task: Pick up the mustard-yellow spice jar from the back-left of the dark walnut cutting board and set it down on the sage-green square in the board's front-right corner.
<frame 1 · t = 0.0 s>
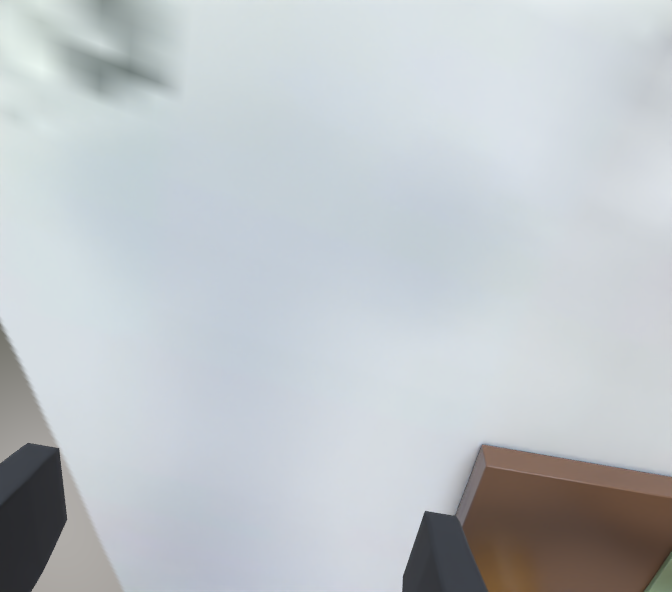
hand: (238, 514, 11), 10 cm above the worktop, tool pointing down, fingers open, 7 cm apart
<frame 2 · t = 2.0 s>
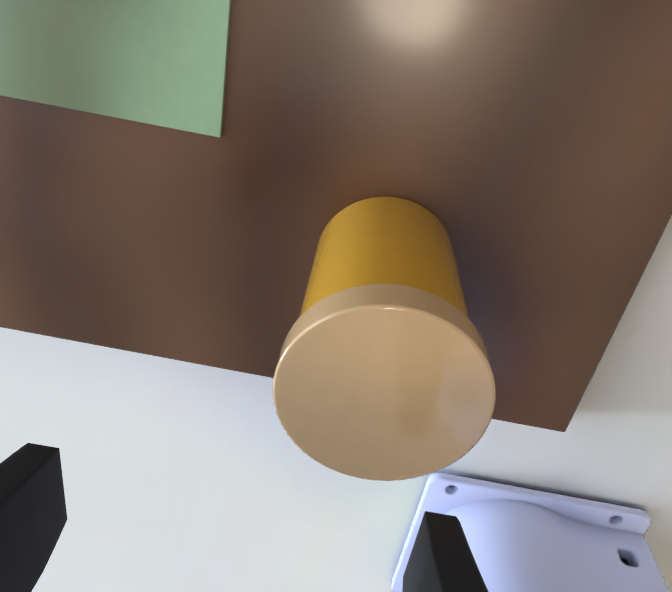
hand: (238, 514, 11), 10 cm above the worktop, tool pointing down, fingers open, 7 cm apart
spice jar: (384, 261, 19), point 1 cm above the worktop, touching walnut board
walnut board: (310, 141, 18), on the worktop
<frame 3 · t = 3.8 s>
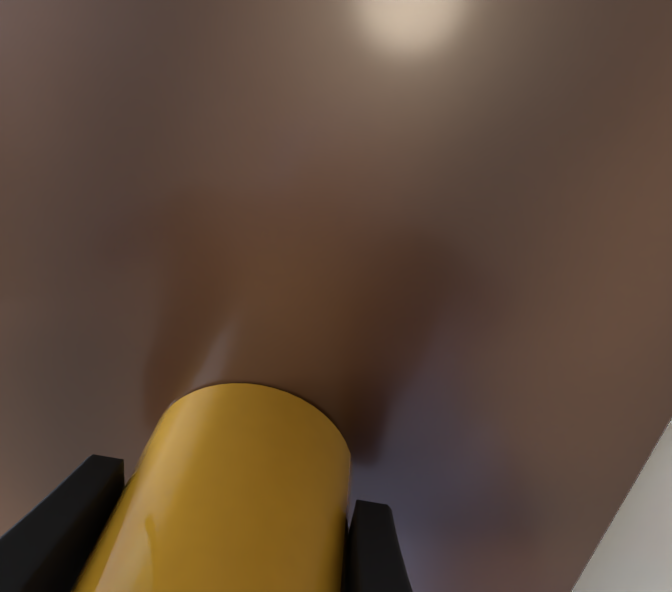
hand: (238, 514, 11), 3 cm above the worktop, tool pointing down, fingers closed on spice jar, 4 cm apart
spice jar: (252, 461, 13), point 1 cm above the worktop, touching gripper, walnut board
walnut board: (136, 294, 12), on the worktop
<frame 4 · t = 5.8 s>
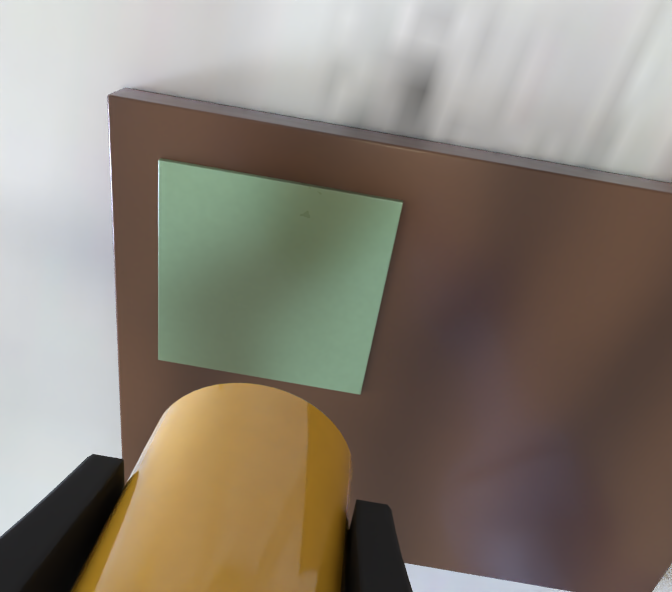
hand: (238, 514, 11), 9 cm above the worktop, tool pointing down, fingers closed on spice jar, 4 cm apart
spice jar: (252, 461, 13), point 8 cm above the worktop, touching gripper
walnut board: (430, 382, 21), on the worktop
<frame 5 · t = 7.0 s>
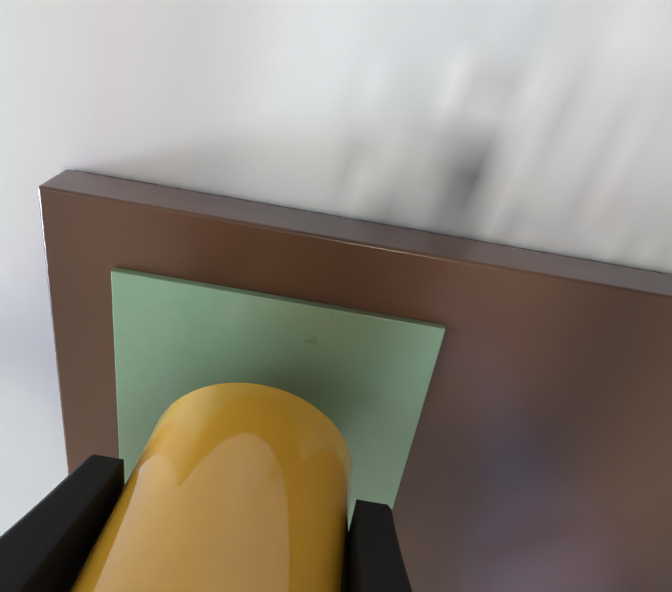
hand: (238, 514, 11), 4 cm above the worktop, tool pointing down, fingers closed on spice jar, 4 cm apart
spice jar: (252, 461, 13), point 3 cm above the worktop, touching gripper
walnut board: (467, 520, 17), on the worktop
when the fingers open (3 cm above the worktop, at t = 7.9 s): spice jar stays where it is, resting on walnut board.
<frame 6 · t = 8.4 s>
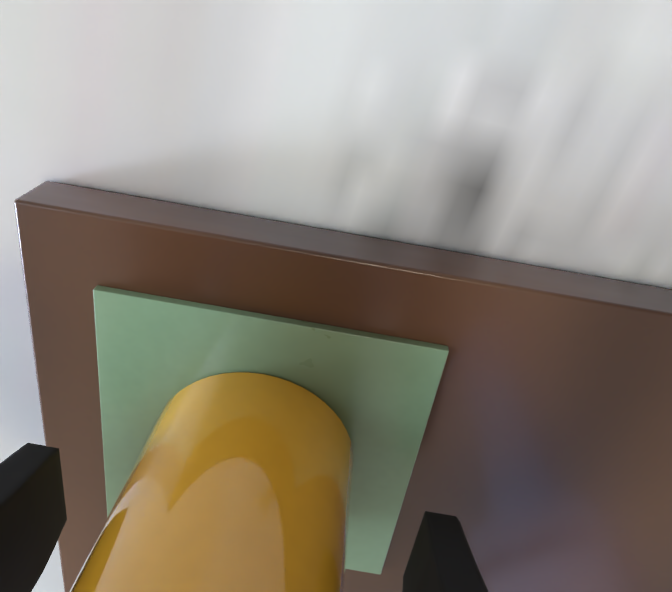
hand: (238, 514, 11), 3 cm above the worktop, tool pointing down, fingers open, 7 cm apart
spice jar: (254, 450, 13), point 1 cm above the worktop, touching walnut board
walnut board: (470, 544, 16), on the worktop
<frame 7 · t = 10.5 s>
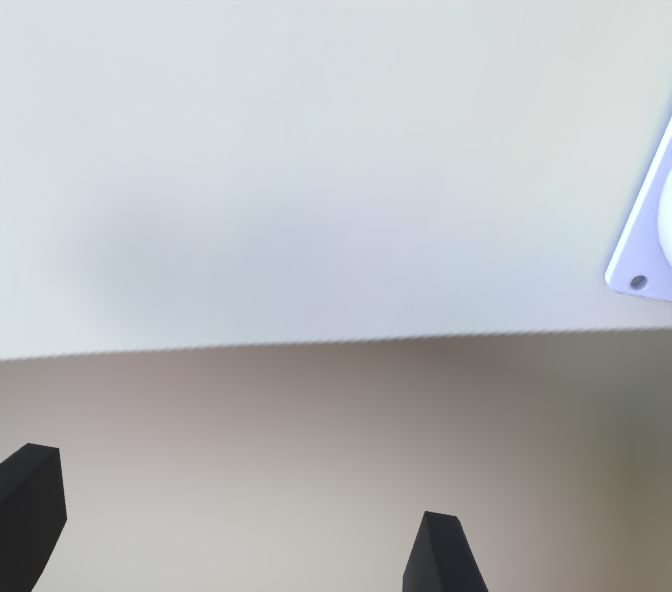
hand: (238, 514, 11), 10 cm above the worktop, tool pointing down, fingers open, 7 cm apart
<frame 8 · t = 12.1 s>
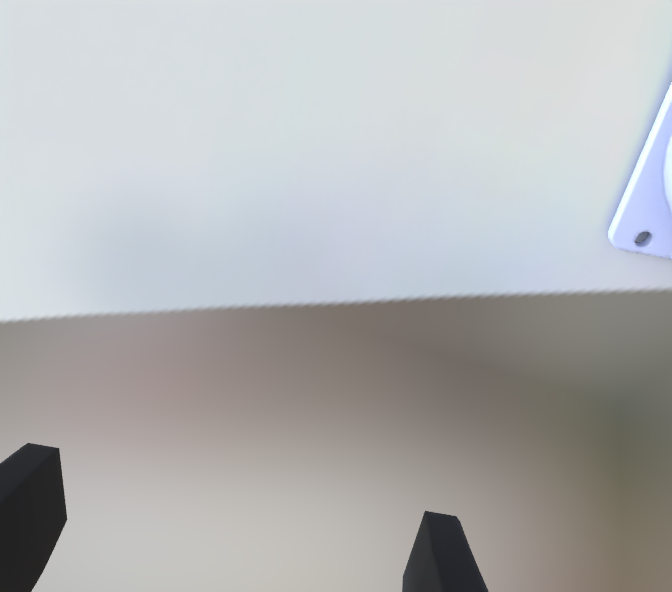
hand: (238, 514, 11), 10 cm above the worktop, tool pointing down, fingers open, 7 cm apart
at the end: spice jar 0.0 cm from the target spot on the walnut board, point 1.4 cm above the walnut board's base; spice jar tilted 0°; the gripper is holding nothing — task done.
